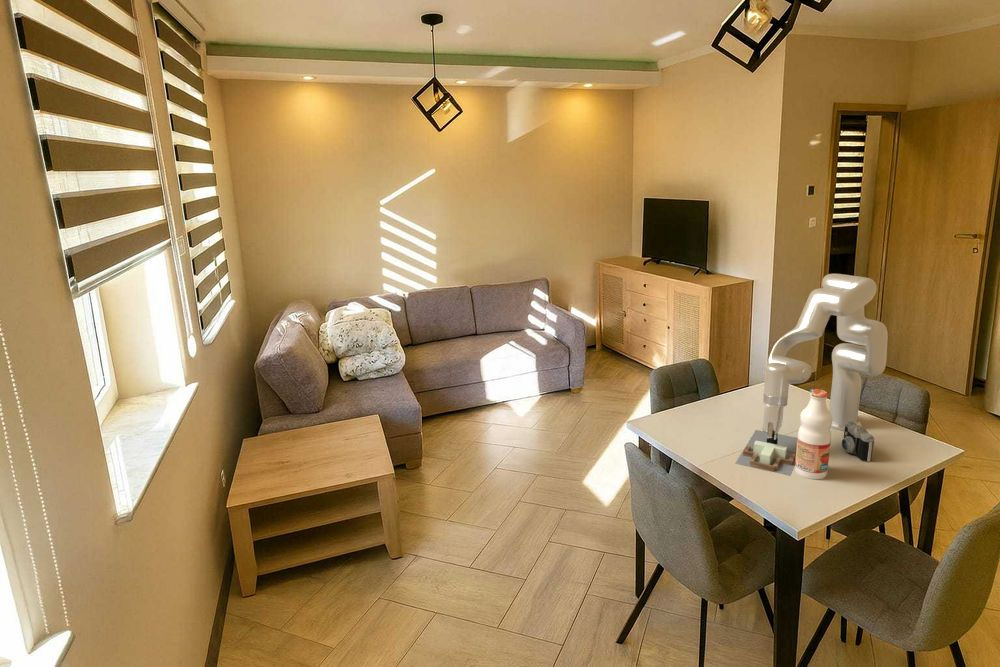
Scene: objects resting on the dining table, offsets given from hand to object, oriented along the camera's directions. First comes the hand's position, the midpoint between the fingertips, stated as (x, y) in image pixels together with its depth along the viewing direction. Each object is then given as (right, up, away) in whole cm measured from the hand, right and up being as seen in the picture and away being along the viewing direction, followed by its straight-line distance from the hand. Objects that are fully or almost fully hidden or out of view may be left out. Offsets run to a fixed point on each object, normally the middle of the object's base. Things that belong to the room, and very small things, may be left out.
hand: (771, 448), depth 210 cm
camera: (+27, -1, -2) cm, 27 cm away
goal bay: (-4, -3, -6) cm, 8 cm away
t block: (-4, -3, -5) cm, 7 cm away
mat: (0, -1, +1) cm, 2 cm away
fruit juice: (+6, -5, -15) cm, 17 cm away
